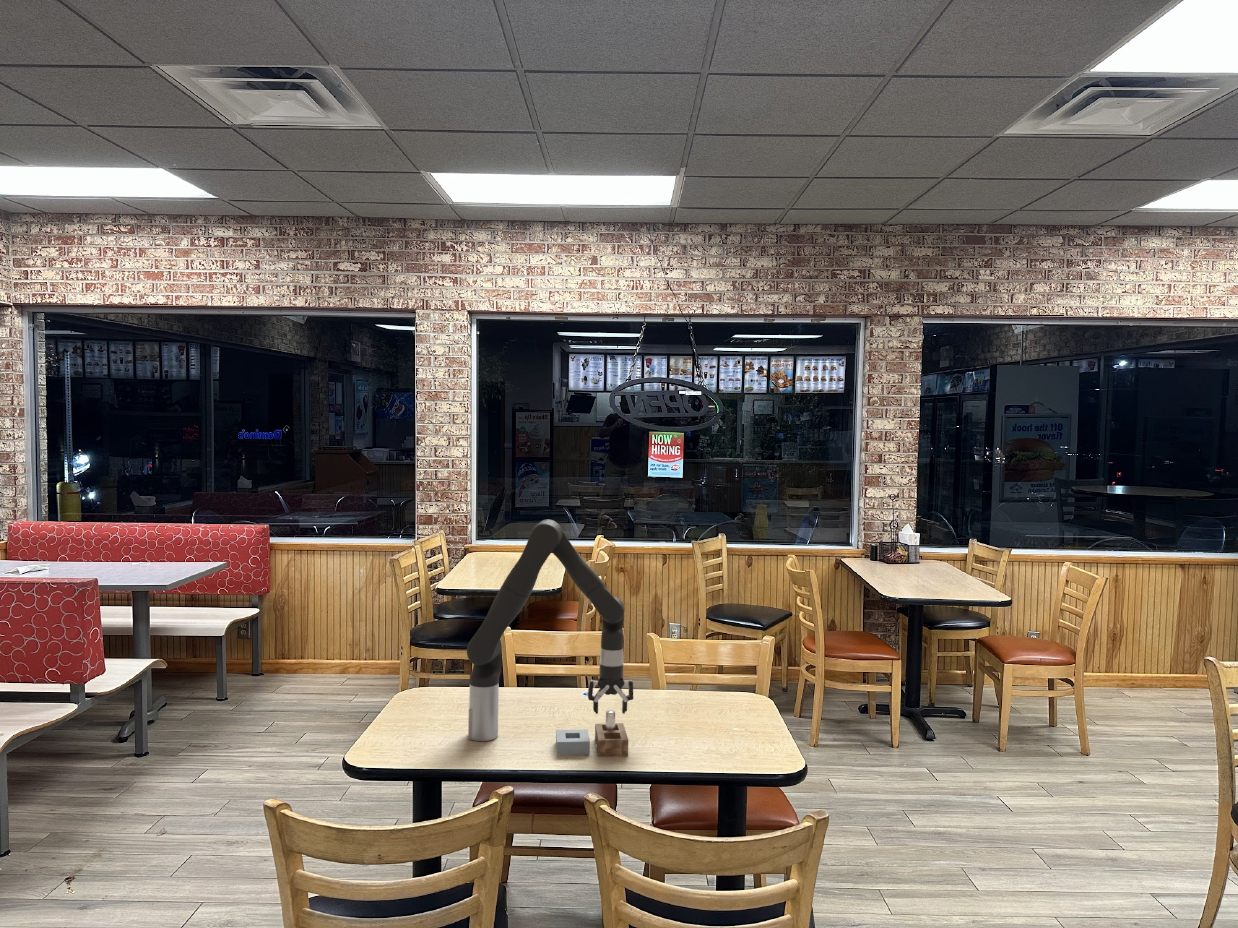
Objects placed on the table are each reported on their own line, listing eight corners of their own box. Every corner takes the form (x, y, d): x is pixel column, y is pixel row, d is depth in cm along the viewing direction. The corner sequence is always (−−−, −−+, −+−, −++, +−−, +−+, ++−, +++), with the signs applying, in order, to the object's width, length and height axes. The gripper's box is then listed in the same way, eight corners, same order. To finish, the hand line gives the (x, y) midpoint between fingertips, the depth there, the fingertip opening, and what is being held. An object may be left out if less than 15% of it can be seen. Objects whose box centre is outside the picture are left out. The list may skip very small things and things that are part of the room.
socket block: (556, 754, 238) (557, 741, 238) (555, 742, 248) (556, 729, 247) (589, 754, 239) (589, 741, 239) (587, 741, 249) (587, 729, 249)
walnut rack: (598, 756, 237) (598, 740, 237) (594, 739, 251) (595, 723, 251) (628, 755, 238) (628, 739, 238) (622, 738, 252) (623, 722, 252)
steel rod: (605, 744, 246) (606, 713, 246) (604, 741, 249) (605, 710, 249) (615, 744, 247) (615, 713, 246) (614, 741, 250) (614, 709, 249)
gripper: (589, 665, 243) (588, 717, 243) (635, 665, 244) (633, 716, 245) (588, 658, 250) (586, 708, 251) (632, 658, 252) (631, 708, 252)
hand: (610, 712), depth 248 cm, fingers open, 8 cm apart
